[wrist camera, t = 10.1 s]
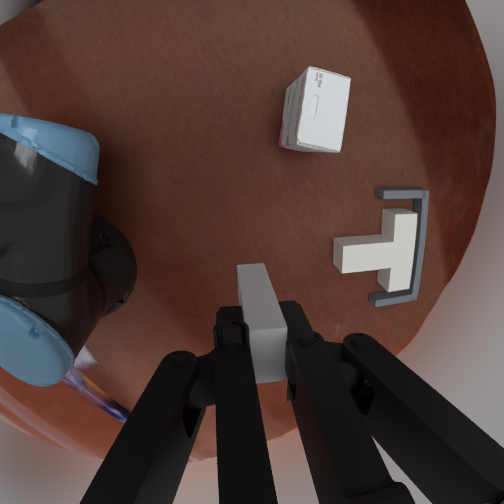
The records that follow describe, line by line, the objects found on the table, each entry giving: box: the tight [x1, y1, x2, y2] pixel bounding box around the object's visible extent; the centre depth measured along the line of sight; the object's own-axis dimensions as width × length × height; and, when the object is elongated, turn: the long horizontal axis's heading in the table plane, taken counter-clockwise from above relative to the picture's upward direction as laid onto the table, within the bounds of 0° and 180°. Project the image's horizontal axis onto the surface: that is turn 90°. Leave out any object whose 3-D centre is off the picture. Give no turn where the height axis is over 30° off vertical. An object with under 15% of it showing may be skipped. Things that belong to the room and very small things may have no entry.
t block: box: [333, 208, 417, 292], centre depth 43 cm, size 12×12×4 cm
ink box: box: [279, 67, 351, 152], centre depth 33 cm, size 9×5×12 cm, turn 171°
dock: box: [369, 188, 429, 307], centre depth 44 cm, size 8×18×2 cm, turn 4°
